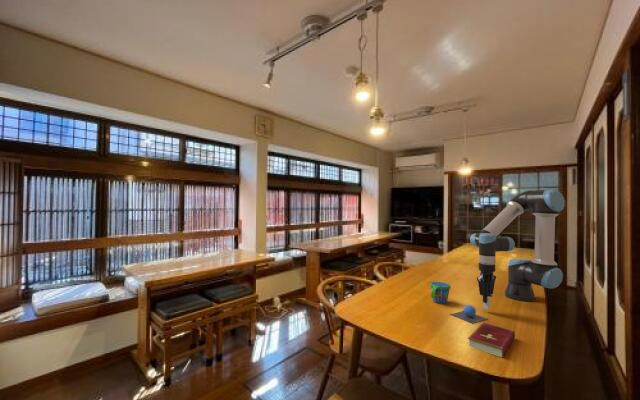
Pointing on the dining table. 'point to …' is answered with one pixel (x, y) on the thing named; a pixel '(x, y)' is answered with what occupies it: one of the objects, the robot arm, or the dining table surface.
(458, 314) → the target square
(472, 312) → the ball
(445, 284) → the snack cup
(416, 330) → the dining table surface
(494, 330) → the hardcover book
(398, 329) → the dining table surface
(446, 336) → the dining table surface
